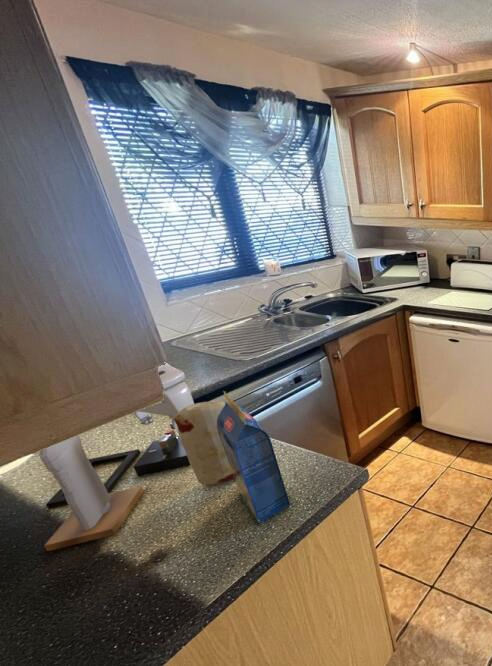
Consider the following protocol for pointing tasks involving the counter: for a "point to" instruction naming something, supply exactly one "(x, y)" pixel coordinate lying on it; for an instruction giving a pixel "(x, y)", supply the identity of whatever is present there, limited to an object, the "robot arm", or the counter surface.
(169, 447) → the knob
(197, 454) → the food model
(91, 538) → the oak board
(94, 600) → the counter surface
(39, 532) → the counter surface
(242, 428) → the blue food package
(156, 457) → the panel
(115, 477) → the black rectangular frame
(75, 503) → the tall pale column
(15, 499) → the counter surface
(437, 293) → the counter surface
